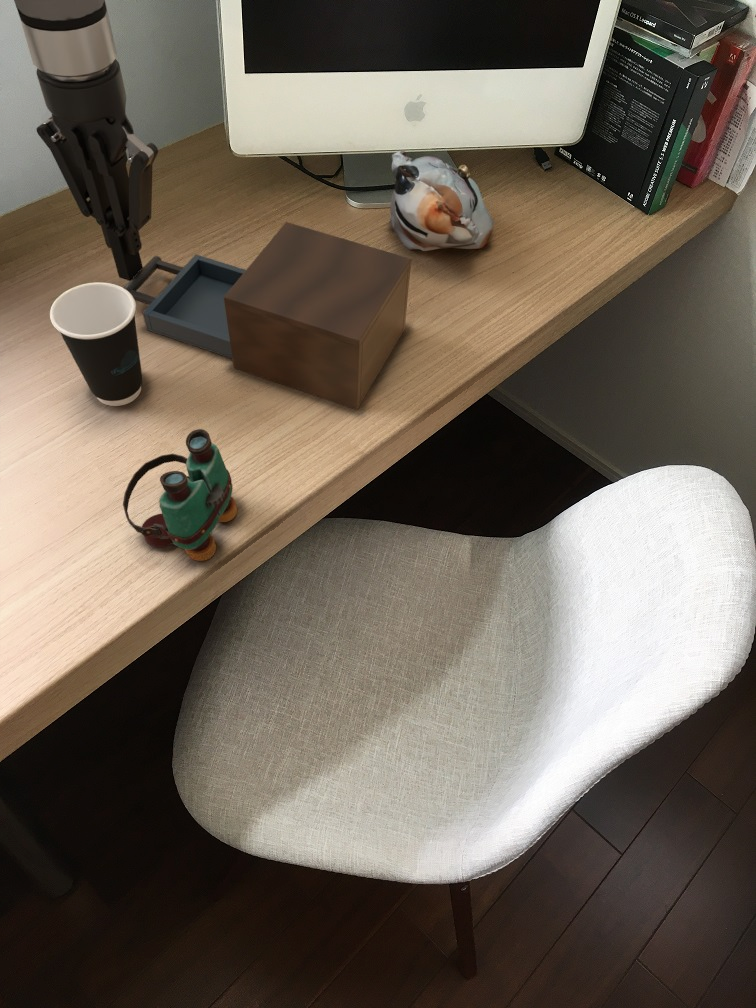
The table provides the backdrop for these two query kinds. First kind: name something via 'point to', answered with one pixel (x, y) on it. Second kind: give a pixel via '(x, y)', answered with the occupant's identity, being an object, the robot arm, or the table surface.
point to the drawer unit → (318, 313)
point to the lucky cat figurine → (437, 205)
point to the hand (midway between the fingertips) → (131, 272)
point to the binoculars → (189, 499)
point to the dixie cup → (102, 339)
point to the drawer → (189, 302)
